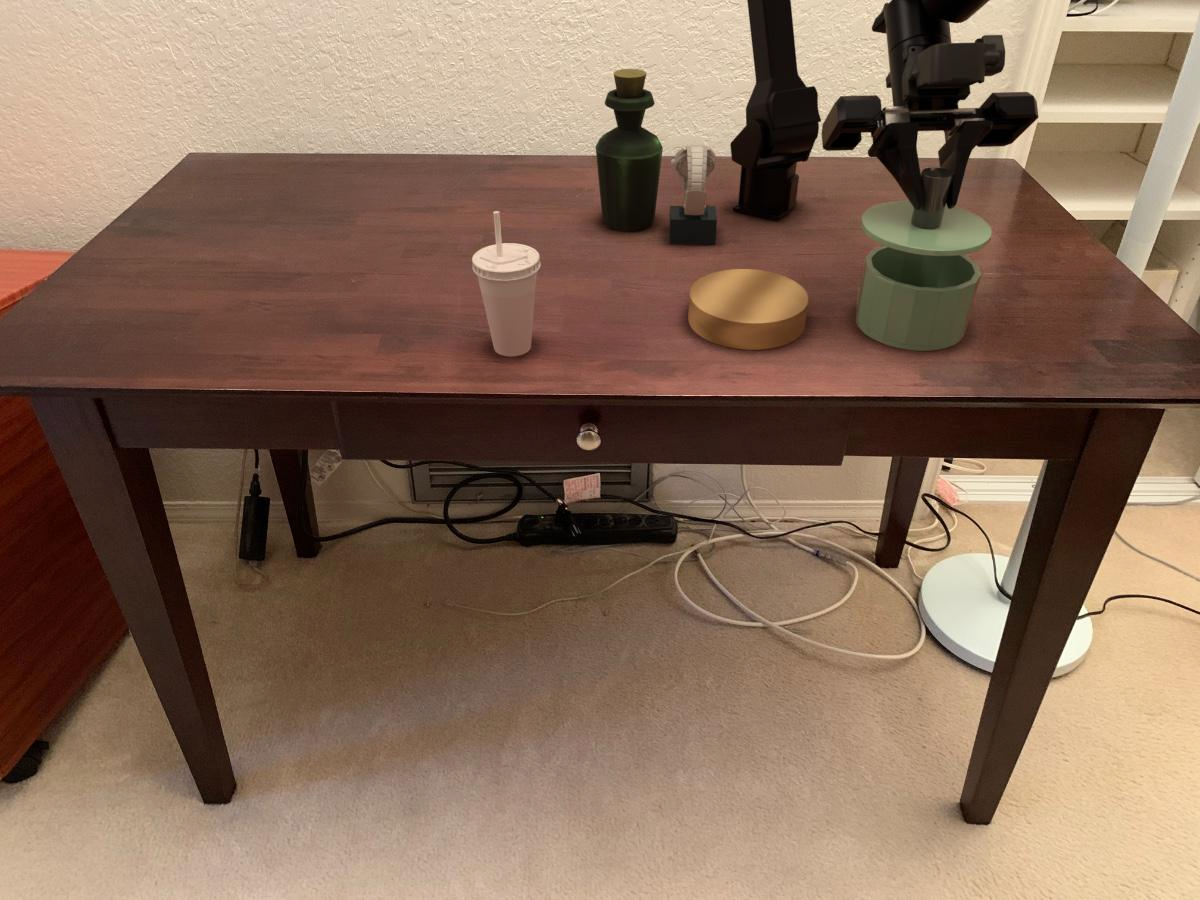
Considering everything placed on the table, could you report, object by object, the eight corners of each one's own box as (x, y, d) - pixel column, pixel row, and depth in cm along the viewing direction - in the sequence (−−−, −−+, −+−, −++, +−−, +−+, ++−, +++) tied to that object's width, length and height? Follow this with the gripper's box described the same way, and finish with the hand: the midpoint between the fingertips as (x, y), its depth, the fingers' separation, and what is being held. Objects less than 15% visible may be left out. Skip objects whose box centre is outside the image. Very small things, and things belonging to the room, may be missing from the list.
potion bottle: (583, 220, 116) (580, 72, 105) (630, 204, 120) (632, 60, 109) (626, 240, 111) (627, 86, 100) (673, 222, 115) (680, 73, 104)
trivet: (667, 330, 93) (668, 304, 91) (718, 284, 101) (720, 259, 99) (777, 361, 88) (780, 334, 86) (821, 311, 96) (826, 285, 94)
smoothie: (480, 332, 93) (468, 200, 84) (543, 329, 93) (537, 197, 85) (479, 365, 87) (465, 227, 79) (546, 362, 88) (539, 224, 80)
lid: (841, 244, 86) (852, 180, 82) (881, 202, 94) (892, 143, 91) (971, 273, 81) (989, 206, 77) (1001, 226, 89) (1018, 164, 85)
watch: (712, 224, 114) (719, 136, 108) (716, 250, 108) (722, 159, 101) (668, 223, 115) (671, 135, 108) (668, 250, 108) (672, 158, 102)
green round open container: (840, 333, 92) (850, 273, 88) (874, 291, 99) (885, 234, 95) (948, 361, 87) (964, 300, 83) (976, 315, 95) (991, 257, 91)
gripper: (849, 0, 78) (865, 171, 76) (1060, -4, 79) (1082, 166, 77) (814, 71, 89) (827, 223, 87) (1000, 67, 90) (1017, 217, 88)
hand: (935, 207), depth 85 cm, fingers closed on lid, 3 cm apart
